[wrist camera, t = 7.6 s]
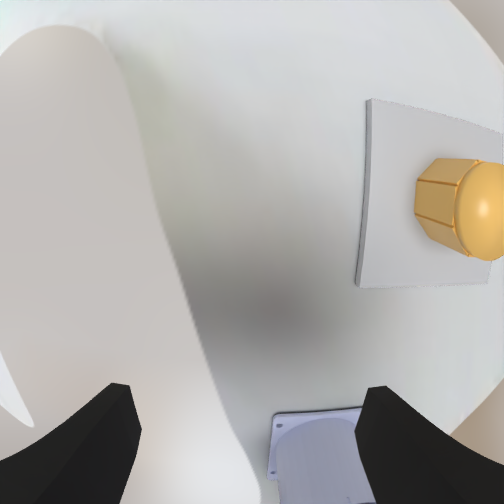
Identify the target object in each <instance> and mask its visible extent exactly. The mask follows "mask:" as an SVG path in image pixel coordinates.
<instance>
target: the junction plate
mask: <svg viewBox="0 0 504 504" xmlns="http://www.w3.org/2000/svg"><path fill="white" fill-rule="evenodd" d="M438 158H450V159H478V160H482V161H486V162H494V163H500V164H502V165H503V134H502V133H499V132H496V131H494V130H491V129H488V128H485V127H482V126H479V125H476V124H473V123H470V122H467V121H464V120H461V119H457V118H454V117H451V116H447V115H443V114H440V113H436V112H432V111H428V110H424V109H420V108H416V107H412V106H407V105H403V104H398V103H393V102H388V101H383V100H378V99H372V98H371V99H369V100H367V138H366V171H365V190H364V205H363V217H362V229H361V239H360V249H359V258H358V266H357V274H356V281H355V284H356V285H357V286H358V287H359V288H394V287H428V286H453V285H474V284H487V283H488V279H489V274H490V269H491V265H492V261H484V260H481V259H479V258H477V257H467V256H465V255H463V254H461V253H459V252H457V251H455V250H453V249H451V248H449V247H447V246H445V245H442V244H440V243H438V242H436V241H434V240H432V239H430V238H429V237H428V235H427V234H426V232H425V231H424V229H423V228H422V226H421V225H420V223H419V222H418V220H417V218H416V217H415V214H416V213H414V203H415V190H416V181H419V180H418V179H417V178H418V177H419V176H420V175H421V174H422V173H423V172H424V171H425V170H426V169H427V168H428V167H429V165H430V164H431V163H432V162H433V161H434V160H435V159H438Z"/></svg>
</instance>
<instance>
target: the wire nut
mask: <svg viewBox="0 0 504 504" xmlns="http://www.w3.org/2000/svg"><path fill="white" fill-rule="evenodd" d="M417 179H418V180H419V181H416V190H415V203H414V213H416V214H415V217H416V218H417V220H418V222H419V223H420V225H421V226H422V228H423V229H424V231H425V232H426V234H427V235H428V237H429V238H430V239H432V240H434V241H436V242H438V243H440V244H442V245H445V246H447V247H449V248H451V249H453V250H455V251H457V252H459V253H461V254H463V255H465V256H467V257H477V258H479V259H481V260H484V261H493V260H496V259H498V258H500V257H501V256H503V255H504V165H502V164H500V163H494V162H486V161H482V160H478V159H450V158H438V159H435V160H434V161H433V162H432V163H431V164H430V165H429V167H428V168H427V169H426V170H425V171H424V172H423V173H422V174H421V175H420V176H419V177H418V178H417Z"/></svg>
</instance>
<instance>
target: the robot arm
mask: <svg viewBox="0 0 504 504" xmlns="http://www.w3.org/2000/svg"><path fill="white" fill-rule="evenodd" d="M279 423H280V424H279ZM141 430H142V428H141V425H140V422H139V419H138V415H137V412H136V408H135V405H134V401H133V397H132V393H131V390H130V386H129V385H123V384H117V383H111V384H110V385H108V386H107V387H106V388H105V389H103V390H102V391H101V392H100V393H99V394H98V395H96V396H95V397H94V398H93V399H92V400H90V401H89V402H88V403H87V404H86V405H85V406H83V407H82V408H81V409H80V410H78V411H77V412H76V413H75V414H74V415H73V416H71V417H70V418H69V419H67V420H66V421H65V422H64V423H62V424H61V425H59V426H58V427H57V428H55V429H54V430H53V431H51V432H50V433H49V434H47V435H46V436H44V437H43V438H41V439H40V440H38V441H37V442H35V443H33V444H32V445H30V446H28V447H27V448H25V449H23V450H21V451H20V452H18V453H16V454H14V455H12V456H10V457H8V458H5V459H3V460H1V461H0V504H119V503H120V500H121V497H122V495H123V492H124V489H125V486H126V483H127V481H128V478H129V475H130V472H131V469H132V466H133V464H134V461H135V458H136V454H137V450H138V445H139V440H140V435H141ZM267 479H269V480H278V486H279V497H280V504H504V465H502V464H499V463H497V462H495V461H492V460H490V459H488V458H486V457H484V456H482V455H480V454H478V453H476V452H474V451H473V450H471V449H469V448H467V447H466V446H464V445H462V444H461V443H459V442H458V441H456V440H455V439H453V438H452V437H450V436H449V435H447V434H446V433H444V432H443V431H442V430H440V429H439V428H438V427H436V426H435V425H434V424H432V423H431V422H430V421H428V420H427V419H426V418H425V417H423V416H422V415H421V414H420V413H419V412H417V411H416V410H415V409H414V408H412V407H411V406H410V405H409V404H408V403H406V402H405V401H404V400H403V399H402V398H400V397H399V396H398V395H397V394H396V393H394V392H393V391H392V390H391V389H389V388H388V387H387V386H380V387H372V388H368V391H367V394H366V397H365V400H364V403H363V407H362V408H356V409H347V410H337V411H326V412H312V413H294V414H277V415H275V416H274V417H273V424H272V434H271V443H270V452H269V461H268V470H267Z"/></svg>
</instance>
